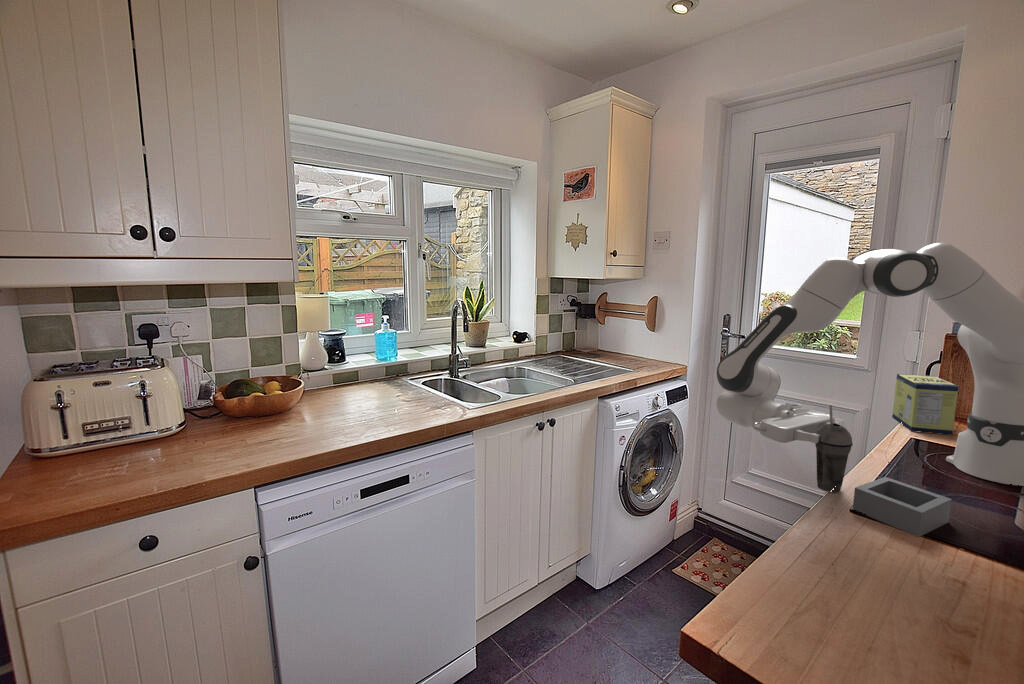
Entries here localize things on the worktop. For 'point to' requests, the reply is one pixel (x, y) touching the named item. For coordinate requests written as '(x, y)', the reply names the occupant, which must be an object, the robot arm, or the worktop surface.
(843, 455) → the beverage cup
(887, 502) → the holder block
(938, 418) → the protein box
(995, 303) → the robot arm
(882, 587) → the worktop surface
